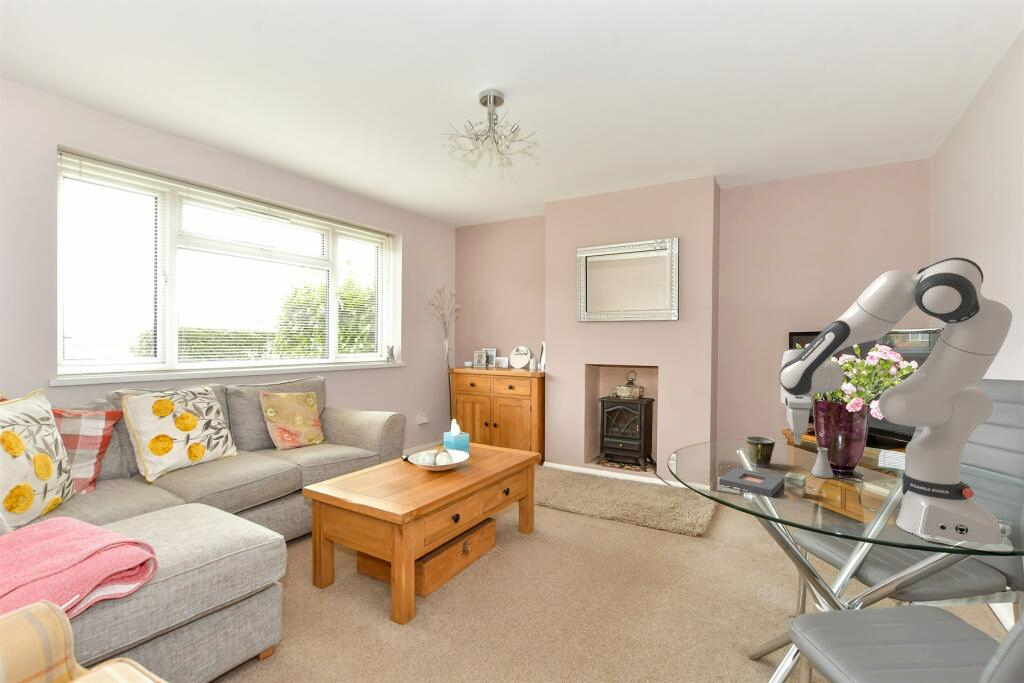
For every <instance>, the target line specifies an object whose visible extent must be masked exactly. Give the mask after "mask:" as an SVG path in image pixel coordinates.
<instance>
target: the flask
mask: <svg viewBox="0 0 1024 683" xmlns="http://www.w3.org/2000/svg"><path fill="white" fill-rule="evenodd" d="M816 449H817V451H818V453H817V458H816V461H815V462H814V465H813V467H812V469H811V472H810V474H811V473H812V474H813V475H812V477H814V476H815V477H816V478H820V479H827V478H832V477H833V475H834V471H833V470H832V467H831V464H830V461H829V458H828V451H829V448H827V447H817V448H816ZM834 476H835V475H834ZM815 477H814V478H815ZM832 479H833V478H832Z"/></svg>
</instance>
